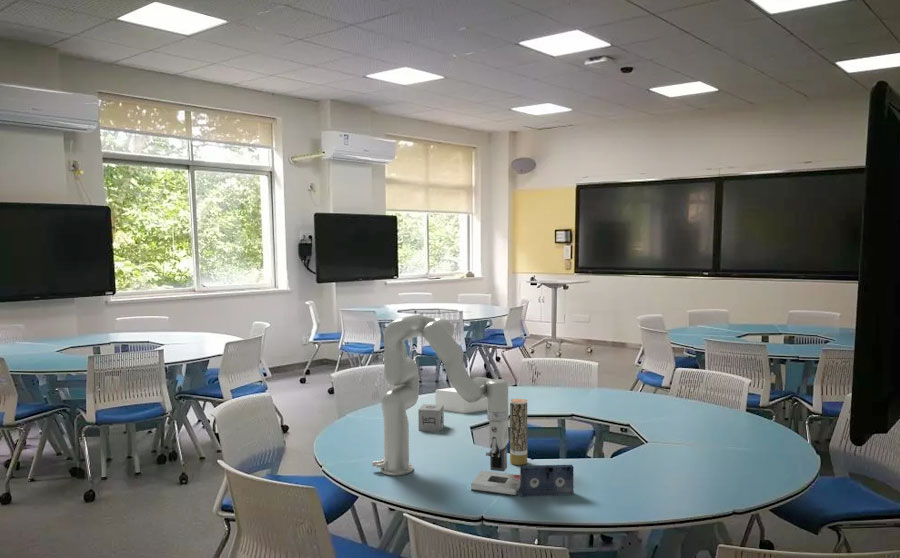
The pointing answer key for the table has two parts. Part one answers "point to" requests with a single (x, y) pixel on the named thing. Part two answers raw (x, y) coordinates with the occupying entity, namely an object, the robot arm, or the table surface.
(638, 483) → the table surface
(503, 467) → the plug
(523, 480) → the vhs cassette tape
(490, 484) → the socket plate
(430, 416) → the icon cube
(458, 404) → the block
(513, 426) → the paper tube
